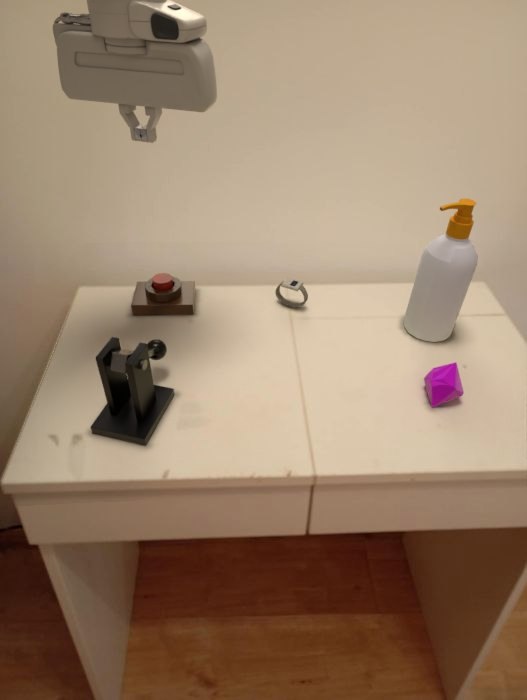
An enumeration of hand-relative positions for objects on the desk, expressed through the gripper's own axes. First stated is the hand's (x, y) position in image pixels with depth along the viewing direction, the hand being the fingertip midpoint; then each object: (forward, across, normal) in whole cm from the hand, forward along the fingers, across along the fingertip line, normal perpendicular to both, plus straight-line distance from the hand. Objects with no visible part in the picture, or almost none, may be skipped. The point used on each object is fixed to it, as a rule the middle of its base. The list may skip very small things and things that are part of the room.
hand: (144, 140), depth 64 cm
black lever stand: (+31, +4, -21) cm, 38 cm away
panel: (+31, -3, +6) cm, 32 cm away
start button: (+27, -3, +6) cm, 28 cm away
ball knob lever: (+25, +4, -17) cm, 31 cm away
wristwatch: (+31, +20, +12) cm, 39 cm away
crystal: (+31, +47, -5) cm, 57 cm away
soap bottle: (+31, +45, +12) cm, 56 cm away
